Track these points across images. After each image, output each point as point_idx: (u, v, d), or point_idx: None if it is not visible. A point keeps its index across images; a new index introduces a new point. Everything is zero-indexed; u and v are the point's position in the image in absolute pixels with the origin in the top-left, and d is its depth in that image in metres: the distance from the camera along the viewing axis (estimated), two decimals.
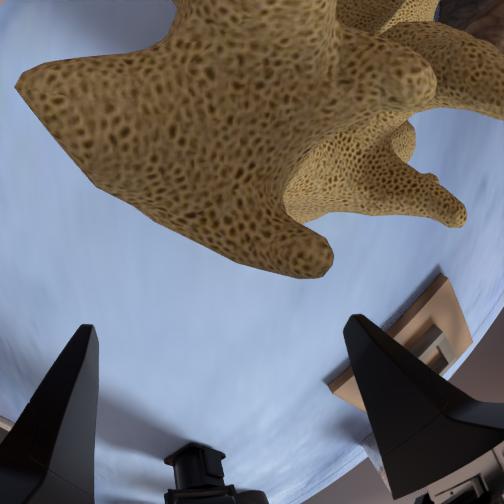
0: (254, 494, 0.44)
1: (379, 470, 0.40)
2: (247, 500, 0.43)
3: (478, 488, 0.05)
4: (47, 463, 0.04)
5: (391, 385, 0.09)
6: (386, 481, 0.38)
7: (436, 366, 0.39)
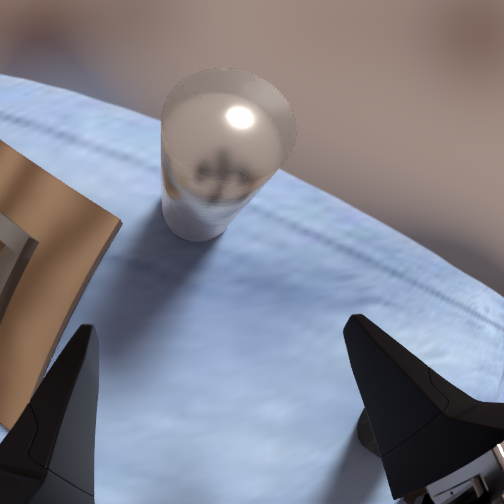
0: (363, 428, 0.24)
1: (223, 217, 0.17)
2: (369, 446, 0.23)
3: (478, 488, 0.05)
4: (47, 463, 0.04)
5: (391, 385, 0.09)
6: (232, 203, 0.15)
7: None
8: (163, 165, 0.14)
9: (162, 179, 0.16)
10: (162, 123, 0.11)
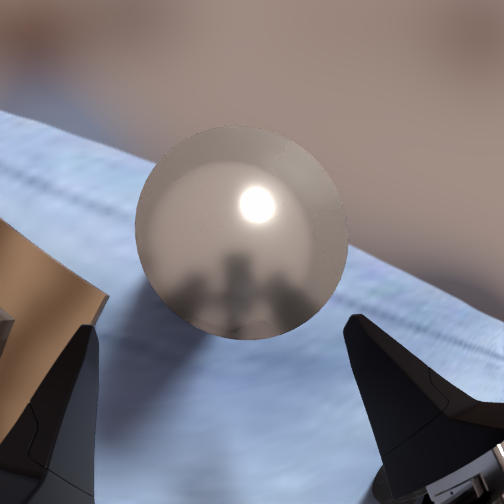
0: (378, 488, 0.20)
1: None
2: None
3: (478, 488, 0.05)
4: (47, 463, 0.04)
5: (391, 385, 0.09)
6: None
7: None
8: None
9: None
10: (137, 242, 0.07)
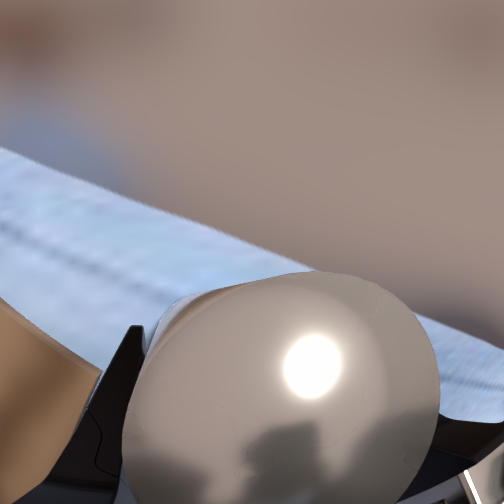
0: None
1: None
2: None
3: None
4: (117, 471, 0.05)
5: None
6: None
7: None
8: None
9: None
10: (136, 496, 0.03)
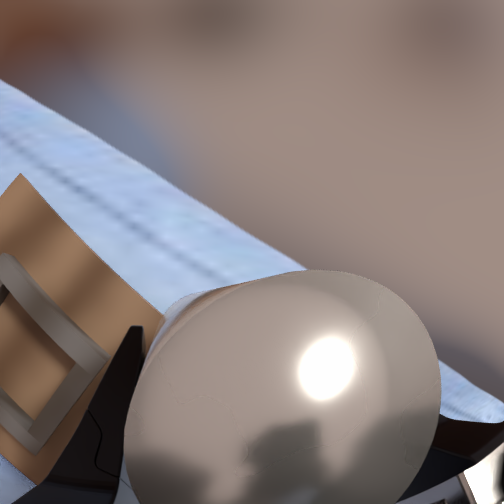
0: None
1: None
2: None
3: None
4: (117, 471, 0.05)
5: None
6: None
7: None
8: None
9: None
10: (137, 495, 0.03)
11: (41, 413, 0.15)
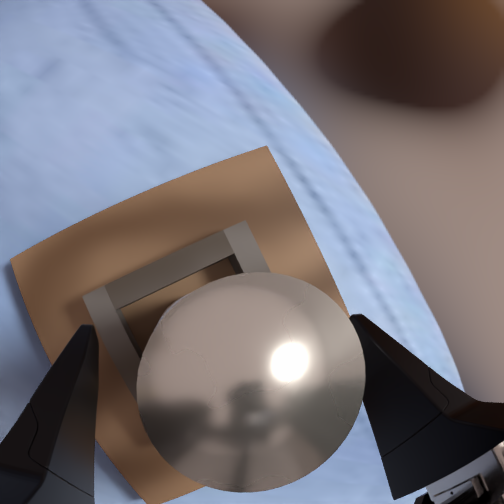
0: None
1: None
2: None
3: (478, 488, 0.05)
4: (47, 463, 0.04)
5: (391, 385, 0.09)
6: None
7: None
8: None
9: None
10: (143, 420, 0.06)
11: None
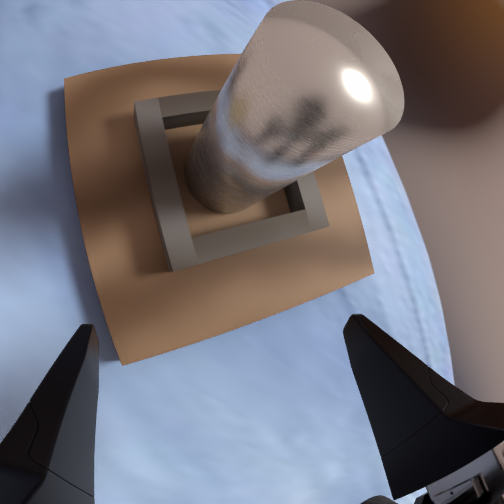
0: None
1: (278, 183, 0.14)
2: None
3: (478, 488, 0.05)
4: (47, 463, 0.04)
5: (391, 385, 0.09)
6: (308, 164, 0.11)
7: None
8: (232, 96, 0.10)
9: (214, 119, 0.12)
10: (262, 34, 0.07)
11: (231, 229, 0.18)
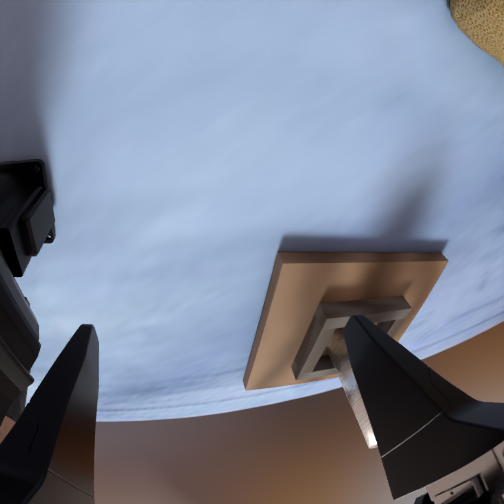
0: None
1: (352, 389, 0.26)
2: None
3: (478, 488, 0.05)
4: (47, 463, 0.04)
5: (391, 385, 0.09)
6: (363, 412, 0.24)
7: None
8: None
9: None
10: None
11: (326, 343, 0.29)
